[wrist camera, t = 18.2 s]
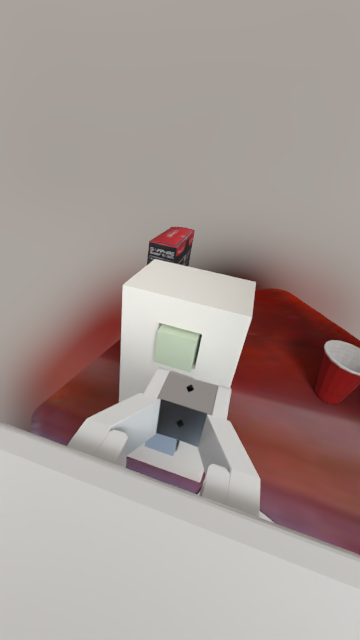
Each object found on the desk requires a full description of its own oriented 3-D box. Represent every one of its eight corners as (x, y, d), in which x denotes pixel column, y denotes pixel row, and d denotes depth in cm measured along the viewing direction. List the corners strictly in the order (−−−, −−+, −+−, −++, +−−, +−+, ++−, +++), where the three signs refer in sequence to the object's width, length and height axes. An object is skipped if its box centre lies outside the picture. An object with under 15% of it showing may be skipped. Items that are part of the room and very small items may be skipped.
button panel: (141, 407, 54) (154, 259, 38) (211, 430, 51) (255, 282, 36) (117, 452, 45) (122, 284, 30) (200, 482, 43) (251, 317, 28)
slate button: (156, 420, 45) (158, 400, 43) (182, 428, 44) (186, 409, 42) (144, 446, 41) (146, 426, 38) (173, 456, 40) (177, 436, 38)
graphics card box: (158, 315, 85) (169, 223, 71) (180, 321, 84) (195, 229, 70) (138, 346, 70) (146, 238, 56) (164, 353, 69) (178, 245, 55)
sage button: (167, 339, 37) (171, 310, 34) (199, 348, 36) (205, 319, 34) (154, 361, 32) (157, 330, 30) (190, 372, 32) (196, 341, 29)
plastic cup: (342, 423, 57) (370, 380, 51) (295, 391, 64) (315, 349, 58) (360, 400, 64) (387, 360, 58) (316, 373, 71) (336, 334, 65)
